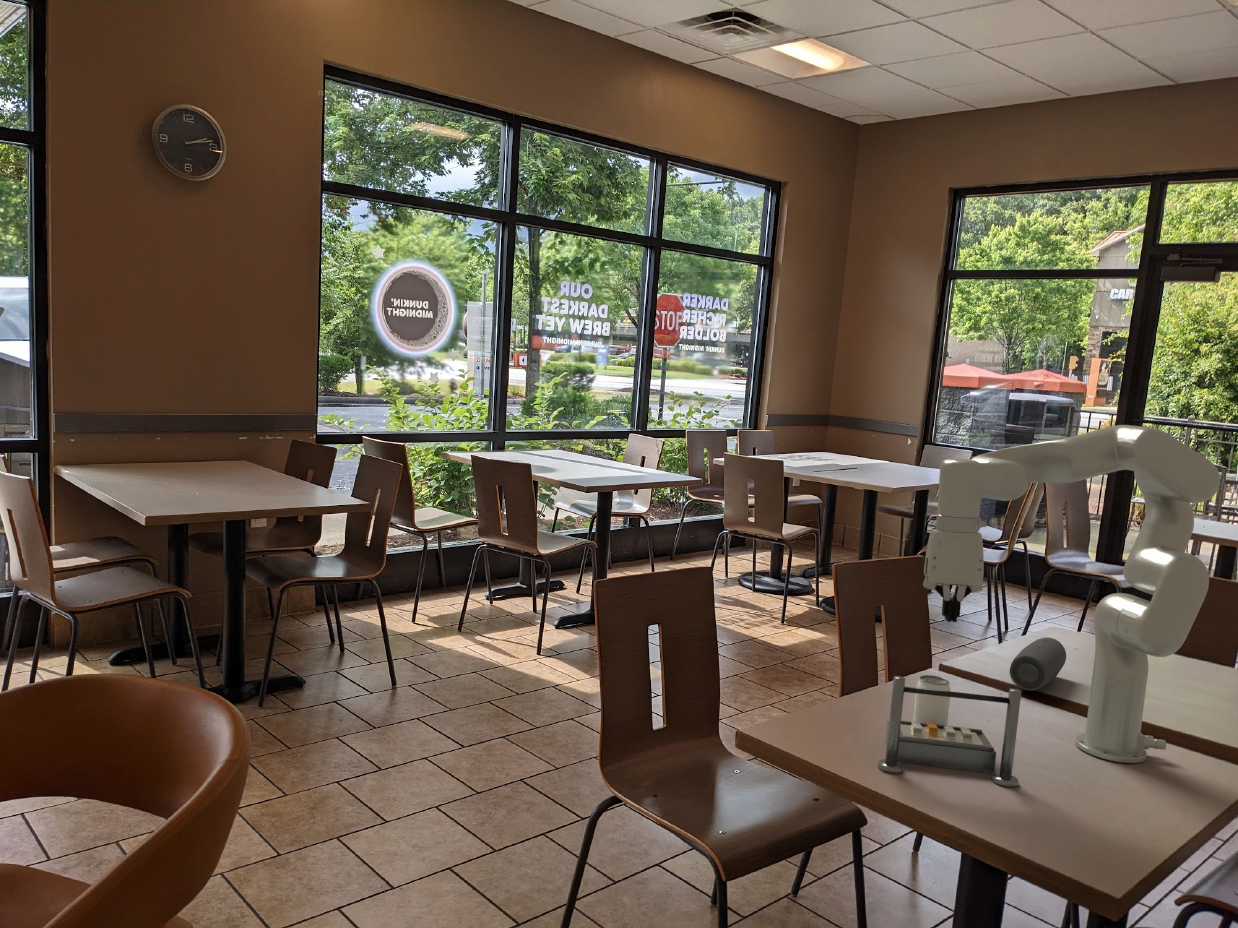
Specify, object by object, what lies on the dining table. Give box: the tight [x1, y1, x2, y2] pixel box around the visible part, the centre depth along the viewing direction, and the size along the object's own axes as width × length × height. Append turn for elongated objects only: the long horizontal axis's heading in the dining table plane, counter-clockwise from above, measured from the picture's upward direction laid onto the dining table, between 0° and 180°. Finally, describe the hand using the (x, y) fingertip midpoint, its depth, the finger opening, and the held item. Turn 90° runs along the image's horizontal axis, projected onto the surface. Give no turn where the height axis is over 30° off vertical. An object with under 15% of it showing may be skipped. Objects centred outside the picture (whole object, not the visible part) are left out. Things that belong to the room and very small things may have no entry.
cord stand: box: [877, 675, 1022, 789], centre depth 171 cm, size 24×4×17 cm, turn 82°
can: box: [912, 674, 952, 726], centre depth 189 cm, size 6×6×12 cm
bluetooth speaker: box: [1009, 637, 1067, 692], centre depth 230 cm, size 23×9×10 cm, turn 144°
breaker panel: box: [884, 720, 997, 774], centre depth 180 cm, size 18×10×6 cm, turn 82°
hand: (950, 619), depth 180 cm, fingers closed
